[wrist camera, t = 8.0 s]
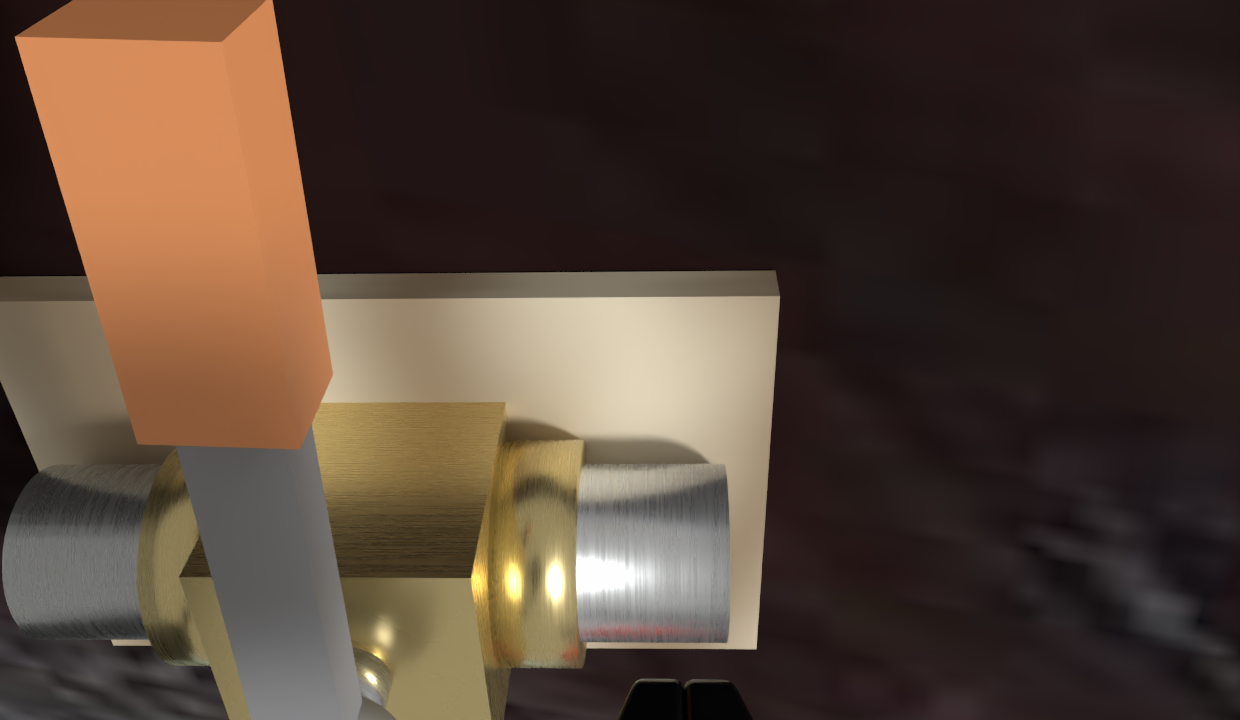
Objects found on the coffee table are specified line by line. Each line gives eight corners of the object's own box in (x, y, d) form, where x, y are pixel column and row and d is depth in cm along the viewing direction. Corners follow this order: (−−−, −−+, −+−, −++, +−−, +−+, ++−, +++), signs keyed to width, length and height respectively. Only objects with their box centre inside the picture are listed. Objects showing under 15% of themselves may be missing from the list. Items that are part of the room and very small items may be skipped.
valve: (132, 558, 26) (-6, 802, 20) (67, 389, 23) (-114, 620, 18) (716, 560, 25) (732, 811, 20) (722, 387, 22) (743, 624, 17)
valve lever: (414, 774, 19) (396, 859, 18) (271, 769, 19) (243, 852, 18) (298, -5, 12) (252, 42, 10) (60, -10, 12) (-17, 35, 10)
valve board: (129, 615, 28) (113, 645, 27) (-8, 276, 22) (-34, 301, 21) (753, 618, 27) (756, 648, 26) (775, 270, 21) (779, 296, 21)
